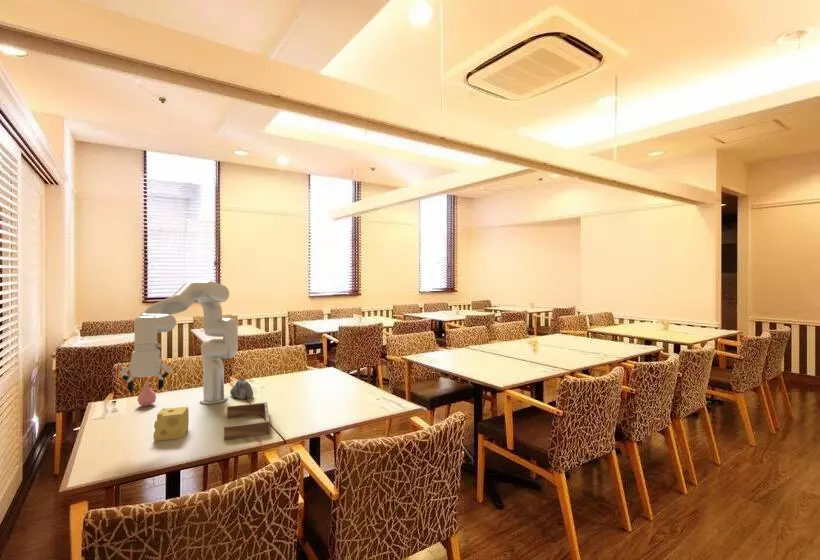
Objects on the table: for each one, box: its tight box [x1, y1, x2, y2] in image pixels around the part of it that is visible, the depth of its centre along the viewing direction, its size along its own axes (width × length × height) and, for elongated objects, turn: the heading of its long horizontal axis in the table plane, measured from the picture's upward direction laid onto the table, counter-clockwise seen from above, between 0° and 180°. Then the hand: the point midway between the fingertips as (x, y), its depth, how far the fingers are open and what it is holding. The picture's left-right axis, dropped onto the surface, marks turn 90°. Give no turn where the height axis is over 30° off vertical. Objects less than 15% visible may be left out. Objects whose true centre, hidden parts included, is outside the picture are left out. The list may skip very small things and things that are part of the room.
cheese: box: [153, 406, 190, 442], centre depth 164 cm, size 10×11×10 cm
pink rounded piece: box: [137, 380, 157, 407], centre depth 199 cm, size 8×8×12 cm
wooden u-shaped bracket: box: [223, 401, 271, 441], centre depth 174 cm, size 26×17×5 cm, turn 22°
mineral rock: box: [229, 378, 254, 400], centre depth 214 cm, size 13×11×10 cm
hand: (146, 390), depth 160 cm, fingers open, 9 cm apart
